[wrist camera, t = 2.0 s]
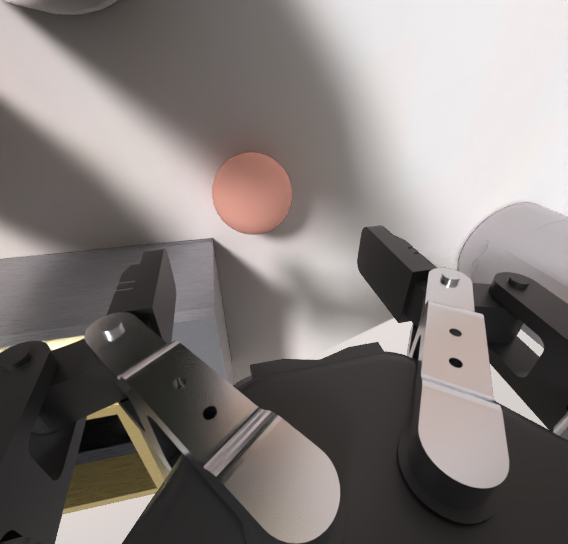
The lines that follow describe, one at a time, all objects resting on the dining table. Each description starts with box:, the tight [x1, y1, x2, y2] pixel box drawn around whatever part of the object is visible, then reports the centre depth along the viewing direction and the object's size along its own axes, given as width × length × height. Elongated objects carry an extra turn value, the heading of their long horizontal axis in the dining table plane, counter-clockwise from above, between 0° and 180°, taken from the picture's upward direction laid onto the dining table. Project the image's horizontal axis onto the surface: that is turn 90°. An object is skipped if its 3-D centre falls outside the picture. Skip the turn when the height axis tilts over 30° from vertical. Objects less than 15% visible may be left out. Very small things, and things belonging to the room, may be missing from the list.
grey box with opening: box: [0, 238, 234, 514], centre depth 21 cm, size 18×14×12 cm
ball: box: [212, 152, 292, 234], centre depth 19 cm, size 5×5×5 cm
